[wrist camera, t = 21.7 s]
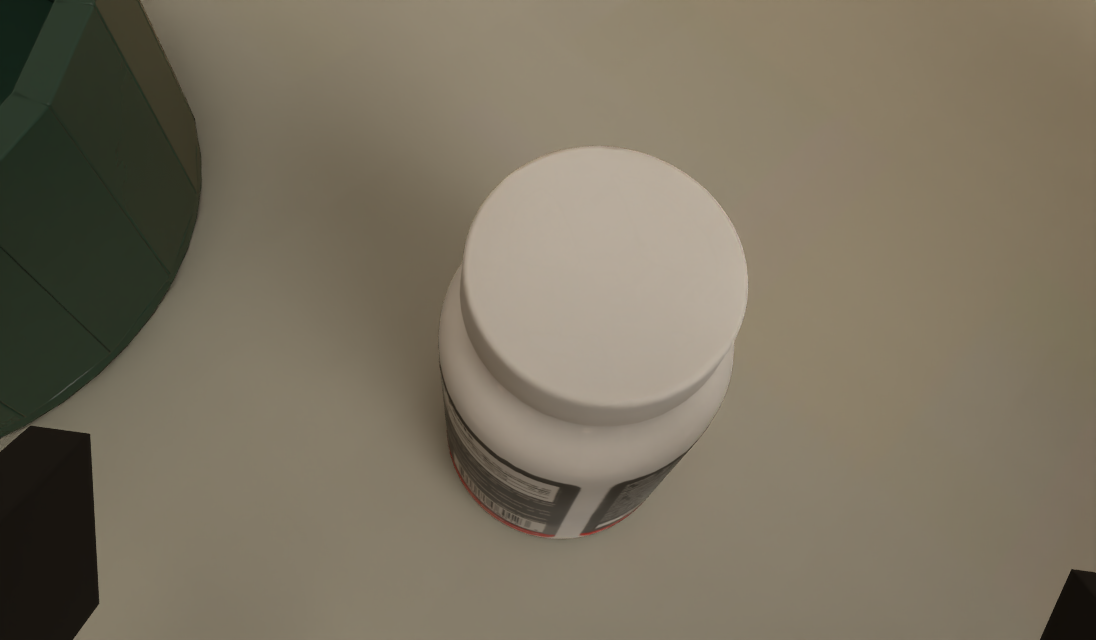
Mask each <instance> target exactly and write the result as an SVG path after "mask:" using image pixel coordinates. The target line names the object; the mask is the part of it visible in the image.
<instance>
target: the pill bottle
mask: <svg viewBox="0 0 1096 640" xmlns="http://www.w3.org/2000/svg"><path fill="white" fill-rule="evenodd" d="M747 297H748V272H747V264H746V259H745V255H744V251H743V247H742V245H741V242H740V239H739V237H738V234H737V232H736V230H735V228H734V226H733V224H732V222H731V221H730V219H729V217H728V216H727V214H726V213H725V211H724V210H723V209H722V207H721V206H720V205H719V203H718V202H717V201H716V200H715V198H714V197H713V196H712V195H711V194H710V193H709V191H708V190H707V189H705V188H704V187H703V186H702V185H700V184H699V183H698V182H697V181H696V180H694V179H693V178H692V177H690V176H689V175H687V174H686V173H685V172H683V171H682V170H680V169H678V168H676V167H675V166H673V165H672V164H669V163H667V162H665V161H663V160H661V159H658V158H656V157H654V156H651V155H648V154H645V153H642V152H638V151H634V150H630V149H626V148H619V147H610V146H584V147H576V148H569V149H564V150H559V151H555V152H552V153H549V154H546V155H544V156H541V157H539V158H536V159H534V160H532V161H530V162H529V163H527V164H525V165H523V166H521V167H520V168H518V169H516V170H515V171H514V172H512V173H511V174H510V175H508V176H507V177H506V178H505V179H504V180H503V181H501V182H500V183H499V184H498V185H497V186H496V187H495V188H494V189H493V190H492V192H491V193H490V194H489V195H488V197H487V198H486V199H485V201H484V202H483V203H482V205H481V207H480V208H479V210H478V212H477V213H476V215H475V217H474V219H473V221H472V224H471V226H470V229H469V232H468V234H467V238H466V242H465V247H464V252H463V260H462V263H461V265H460V266H459V268H458V269H457V271H456V273H455V275H454V276H453V278H452V280H451V282H450V285H449V287H448V290H447V292H446V296H445V299H444V302H443V306H442V310H441V315H440V323H439V337H438V349H439V363H440V370H441V380H442V388H443V398H444V407H445V417H446V426H447V438H448V445H449V450H450V455H451V458H452V461H453V464H454V466H455V469H456V471H457V473H458V475H459V477H460V479H461V481H462V483H463V485H464V486H465V488H466V489H467V490H468V492H469V493H470V495H471V496H472V497H473V498H474V500H475V501H476V502H477V503H478V504H479V505H480V506H481V507H482V508H483V509H484V510H485V511H486V512H487V513H489V514H490V515H491V516H493V517H494V518H495V519H497V520H498V521H500V522H502V523H503V524H505V525H507V526H509V527H511V528H513V529H515V530H517V531H520V532H523V533H526V534H530V535H534V536H538V537H544V538H552V539H567V538H577V537H582V536H587V535H591V534H594V533H597V532H600V531H602V530H605V529H607V528H609V527H611V526H613V525H615V524H616V523H618V522H620V521H621V520H623V519H624V518H626V517H627V516H629V515H630V514H631V513H632V512H633V511H635V510H636V509H637V508H638V507H639V506H640V505H641V504H642V503H643V502H644V501H645V500H646V498H647V497H648V496H649V495H650V494H651V493H652V492H653V490H654V489H655V488H656V487H657V486H658V485H659V484H660V482H661V481H662V480H663V479H664V478H665V477H666V475H667V474H668V473H669V472H670V471H671V470H672V469H673V468H674V467H675V466H676V464H677V463H678V462H679V461H680V460H681V459H682V457H683V456H684V455H685V454H686V453H687V452H688V451H689V450H690V449H691V447H692V446H693V445H694V444H695V443H696V442H697V440H698V439H699V438H700V437H701V435H702V434H703V433H704V432H705V430H706V429H707V428H708V426H709V424H710V423H711V421H712V419H713V418H714V416H715V414H716V413H717V411H718V409H719V408H720V405H721V403H722V401H723V399H724V397H725V394H726V391H727V388H728V385H729V382H730V378H731V373H732V368H733V358H734V340H735V339H736V337H737V335H738V332H739V329H740V327H741V324H742V322H743V318H744V314H745V310H746V305H747Z"/></svg>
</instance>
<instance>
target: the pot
mask: <svg viewBox="0 0 1096 640" xmlns="http://www.w3.org/2000/svg"><path fill="white" fill-rule="evenodd" d="M200 191H201V154H200V148H199V142H198V137H197V131H196V126H195V118H194V116H193V114H192V112H191V109H190V107H189V105H188V103H187V100H186V98H185V96H184V94H183V92H182V89H181V87H180V85H179V83H178V81H177V78H176V76H175V74H174V72H173V70H172V67H171V65H170V63H169V61H168V58H167V56H166V54H165V52H164V50H163V48H162V46H161V44H160V41H159V39H158V37H157V35H156V33H155V31H154V29H153V27H152V24H151V22H150V20H149V18H148V16H147V14H146V12H145V10H144V7H143V5H142V3H141V1H140V0H0V438H1V437H3V436H5V435H7V434H9V433H11V432H13V431H15V430H17V429H19V428H21V427H23V426H25V425H27V424H29V423H30V422H32V421H33V420H35V419H37V418H38V417H40V416H41V415H43V414H45V413H46V412H48V411H49V410H51V409H53V408H54V407H56V406H57V405H59V404H61V403H62V402H64V401H65V400H66V399H68V398H69V397H70V396H71V395H73V394H74V393H75V392H77V391H78V390H79V389H80V388H82V387H83V386H84V385H85V384H87V383H88V382H89V381H91V380H92V379H93V378H94V377H96V376H97V375H98V374H99V373H100V372H101V371H102V370H103V369H104V368H105V367H106V366H107V365H108V364H109V363H110V362H111V361H112V360H113V359H114V358H115V357H116V356H117V355H118V354H120V353H121V352H122V351H123V350H124V349H125V348H126V347H127V346H128V344H129V343H130V342H131V341H132V339H133V338H134V337H135V336H136V334H137V333H138V332H139V331H140V330H141V328H142V327H143V326H144V325H145V323H146V322H147V321H148V320H149V318H150V317H151V316H152V315H153V313H154V311H155V310H156V308H157V307H158V305H159V303H160V302H161V300H162V299H163V297H164V295H165V294H166V292H167V291H168V289H169V287H170V286H171V284H172V282H173V280H174V278H175V276H176V274H177V271H178V269H179V267H180V265H181V263H182V260H183V258H184V256H185V254H186V252H187V249H188V245H189V242H190V239H191V235H192V232H193V229H194V225H195V222H196V218H197V212H198V205H199V198H200Z"/></svg>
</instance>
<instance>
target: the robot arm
mask: <svg viewBox="0 0 1096 640" xmlns="http://www.w3.org/2000/svg"><path fill="white" fill-rule="evenodd" d="M98 604H99V591H98V572H97V554H96V535H95V516H94V498H93V479H92V460H91V442H90V434H87V433H80V432H72V431H65V430H58V429H51V428H43V427H36V426H30V427H29V428H27V429H26V430H25V431H24V432H23V433H22V434H20V435H19V436H18V437H17V438H16V439H15V440H13V441H12V442H11V443H10V444H9V445H8V446H7V447H5V448H4V449H3V450H2V451H1V452H0V640H73V639H74V637H75V636H76V635H77V633H78V632H79V630H80V629H81V628H82V626H83V625H84V624H85V622H86V621H87V619H88V618H89V617H90V615H91V614H92V613H93V611H94V610H95V609H96V607H97V606H98ZM1040 640H1096V573H1095V572H1088V571H1081V570H1074V569H1071V571H1070V574H1069V576H1068V578H1067V580H1066V583H1065V585H1064V587H1063V589H1062V591H1061V594H1060V596H1059V598H1058V600H1057V603H1056V605H1055V607H1054V609H1053V612H1052V614H1051V616H1050V618H1049V621H1048V623H1047V625H1046V627H1045V629H1044V632H1043V634H1042V636H1041V638H1040Z"/></svg>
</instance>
